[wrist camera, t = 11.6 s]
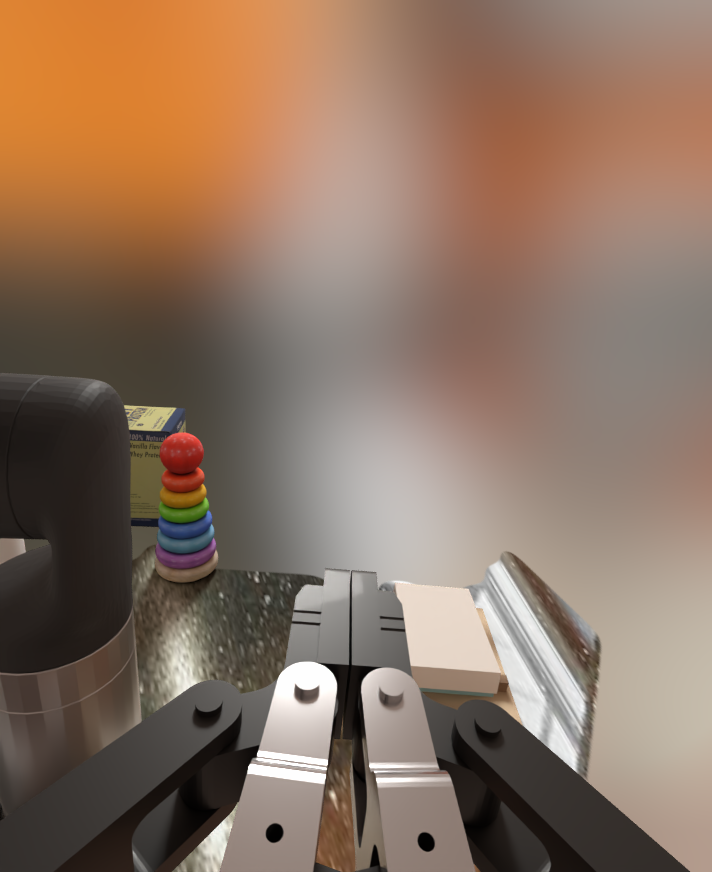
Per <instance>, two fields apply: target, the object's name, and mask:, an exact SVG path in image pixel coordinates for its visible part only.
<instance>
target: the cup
mask: <svg viewBox="0 0 712 872" xmlns="http://www.w3.org/2000/svg"><path fill="white" fill-rule="evenodd" d="M25 552H26V551H25V544H24V539H5V538H0V564H2V563H4V562H6V561H8V560H9V559H11V558H14V557H16V556H18V555H20V554H23V553H25Z"/></svg>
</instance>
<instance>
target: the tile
mask: <svg viewBox="0 0 712 872" xmlns="http://www.w3.org/2000/svg"><path fill="white" fill-rule="evenodd" d="M394 593H395V595H396V596H397V597H398V599H399V600H400V602H401V603H402V607H403V614H404V621H405V628H406V636H407V643H408V650H409V657H410V664H411V672H412V677H413V679H414V681H415V682H416V683H417V685H418V687H419V689H420V691H422V692H435V693H447V694H460V695H473V696H486V697H493V695H494V694H497V691H498V686H499V681H500V677H501V671H500V668H499V666H498V663H497V661H496V658H495V656H494V653H493V650H492V648H491V645H490V643H489V640H488V638H487V635H486V633H485V630H484V627H483V625H482V622H481V620H480V617H479V615H478V612H477V610H476V607H475V604H474V602H473V599H472V597H471V594H470V592H469V589H463V588H451V587H439V586H427V585H416V584H404V583H395V586H394Z"/></svg>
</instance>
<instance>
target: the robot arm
mask: <svg viewBox="0 0 712 872" xmlns="http://www.w3.org/2000/svg"><path fill="white" fill-rule="evenodd" d="M130 488H131V452H130V433H129V425H128V418H127V415H126V411H125V407H124V405H123V403H122V401H121V398H120V396H119V395H118V394H117V392H116V391H115V390H114V389H113V388H112V387H111V386H110V385H108V384H107V383H105V382H102V381H98V380H93V379H85V378H73V377H58V376H43V375H26V374H10V373H0V538H5V539H47V540H48V541H49V543H50V545H46V546H43V547H40V548H37V549H34V550H31V551H28V552H25V553H23V554H20V555H18V556H16V557H14V558H11V559H9V560H8V561H6V562H4V563H2V564H0V801H1V805H2V810H3V814H4V818H3V819H2V820H1V821H0V872H172V871H173V870H174V869H175V868H176V867H177V866H178V865H179V864H180V863H181V862H182V861H183V860H184V859H185V858H186V857H187V856H188V855H189V854H190V853H191V852H192V851H193V850H194V849H195V848H196V847H197V846H198V845H199V844H200V843H201V842H202V841H203V840H204V839H205V838H206V837H207V836H208V835H209V834H210V833H211V832H212V831H213V830H214V829H215V828H216V827H217V826H218V825H219V824H220V823H221V822H222V821H223V820H224V819H225V818H226V817H227V816H228V815H229V814H230V813H231V812H232V811H233V809H234V808H235V806H236V804H237V802H239V804H238V808H237V811H236V815H235V819H234V822H233V826H232V829H231V833H230V836H229V840H228V843H227V847H226V851H225V854H224V858H223V861H222V865H221V868H220V872H340V871H337V870H335V869H332V868H329V867H327V866H324V865H321V864H319V863H316V861H317V853H318V845H319V837H320V829H321V821H322V813H323V805H324V797H325V789H326V781H327V773H328V768H329V766H330V764H331V760H332V754H333V745H334V739H340V734H341V726H342V718H343V739H349V740H352V759H351V767H350V782H351V797H352V811H353V826H354V840H355V855H356V871H355V872H475V868H474V864H475V865H476V867H477V868H478V869H479V870H480V871H481V872H690V871H689V870H688V869H686V868H685V867H684V866H683V865H682V864H681V863H680V862H678V861H677V860H676V859H675V858H674V857H673V856H672V855H670V854H669V853H668V852H667V851H666V850H665V849H664V848H662V847H661V846H660V845H659V844H658V843H657V842H655V841H654V840H653V839H652V838H651V837H649V835H647V834H646V833H645V832H644V831H643V830H642V829H641V828H639V827H638V826H637V825H636V824H635V823H634V822H633V821H631V820H630V819H629V818H628V817H627V816H625V814H623V813H622V812H621V811H620V810H619V809H618V808H616V807H615V806H614V805H613V804H612V803H611V802H610V801H608V800H607V799H606V798H605V797H604V796H603V795H602V794H600V793H599V792H598V791H597V790H596V789H595V788H594V787H592V786H591V785H590V784H589V783H588V782H587V781H586V780H584V779H583V778H582V777H581V776H580V775H579V774H577V773H576V772H575V771H574V770H573V769H572V768H571V767H569V766H568V765H567V764H566V763H565V762H564V761H563V760H561V759H560V758H559V757H558V756H557V755H556V754H555V753H553V752H552V751H551V750H550V749H549V748H548V747H547V746H545V745H544V744H543V743H542V742H541V741H540V740H538V739H537V738H536V737H535V736H534V735H533V734H532V733H530V732H529V731H528V730H527V729H526V728H525V727H524V726H522V725H521V724H520V723H519V722H518V721H517V720H516V719H514V718H513V717H512V716H511V715H510V714H509V713H508V712H506V711H505V710H504V709H503V708H501V707H500V706H498V705H496V704H494V703H492V702H489V701H486V700H476V699H475V700H470V701H467V702H465V703H463V704H462V705H461V706H460V707H459V708H458V710H456V709H453V708H451V707H448V706H445V705H442V704H440V703H437V702H435V701H433V700H432V699H430V698H428V697H427V696H426V695H425V694H423V693H422V692H421V691H420V689H419V687H418V685H417V683H416V682H415V681H414V679H413V677H412V672H411V664H410V657H409V650H408V643H407V636H406V628H405V621H404V614H403V607H402V603H401V602H400V600H399V599H398V597H397V596H396V595H395V593H394V592H393V591H381V590H378V587H377V574H376V572H367V571H354V570H352V571H351V578H350V570H341V569H328V568H326V569H325V578H324V586H316V585H305V586H304V587H303V588H302V590H301V591H300V592H299V593H298V595H297V596H296V601H295V607H294V613H293V619H292V625H291V631H290V637H289V643H288V650H287V656H286V662H285V667H284V670H283V672H282V673H281V675H280V676H279V678H278V679H277V680H276V681H275V682H273V683H272V684H271V685H269V686H267V687H265V688H263V689H260V690H257V691H253V692H248V693H244V694H240V692H239V691H238V689H237V688H236V687H235V686H233V685H232V684H230V683H228V682H225V681H222V680H208V681H204V682H200V683H198V684H196V685H194V686H192V687H190V688H189V689H187V690H186V691H185V692H183V693H182V694H180V695H179V696H177V697H176V698H175V699H173V700H172V701H170V702H169V703H167V704H166V705H165V706H163V707H162V708H160V709H159V710H157V711H156V712H155V713H153V714H152V715H150V716H149V717H147V718H146V719H145V720H143V721H142V719H141V705H140V691H139V678H138V664H137V650H136V638H135V626H134V612H133V599H132V535H131V504H130ZM473 863H474V864H473Z"/></svg>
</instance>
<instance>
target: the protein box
mask: <svg viewBox="0 0 712 872" xmlns="http://www.w3.org/2000/svg"><path fill="white" fill-rule="evenodd" d="M124 407H125V411H126V415H127V418H128V425H129V433H130V452H131V488H130V504H131V526H147V527H149V526H150V527H159V526H158V520H159V517H160V516H161V515H160V513H159V505H160V502H161V499H160V491H161V489H162V488H163V487H164V486H163V484H162V481H161V477H162V475H163V473H164V472H165V471H166V470H167V469H166V468H165V466H164V465H163V464H162V462H161V459H160V447H161V445H162V443H163V441H164V440H165V439H166V438H167V437H169V436H170V435H172V434H175V433H185V409H182V408H161V407H143V406H124Z"/></svg>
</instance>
